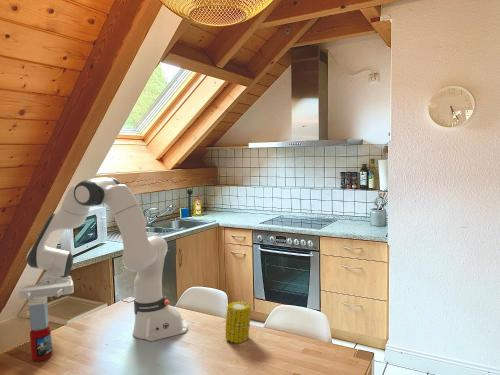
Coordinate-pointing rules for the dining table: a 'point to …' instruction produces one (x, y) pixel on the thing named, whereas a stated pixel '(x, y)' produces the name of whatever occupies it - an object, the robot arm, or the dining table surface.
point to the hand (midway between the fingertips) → (43, 296)
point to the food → (238, 321)
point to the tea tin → (38, 313)
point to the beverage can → (41, 344)
